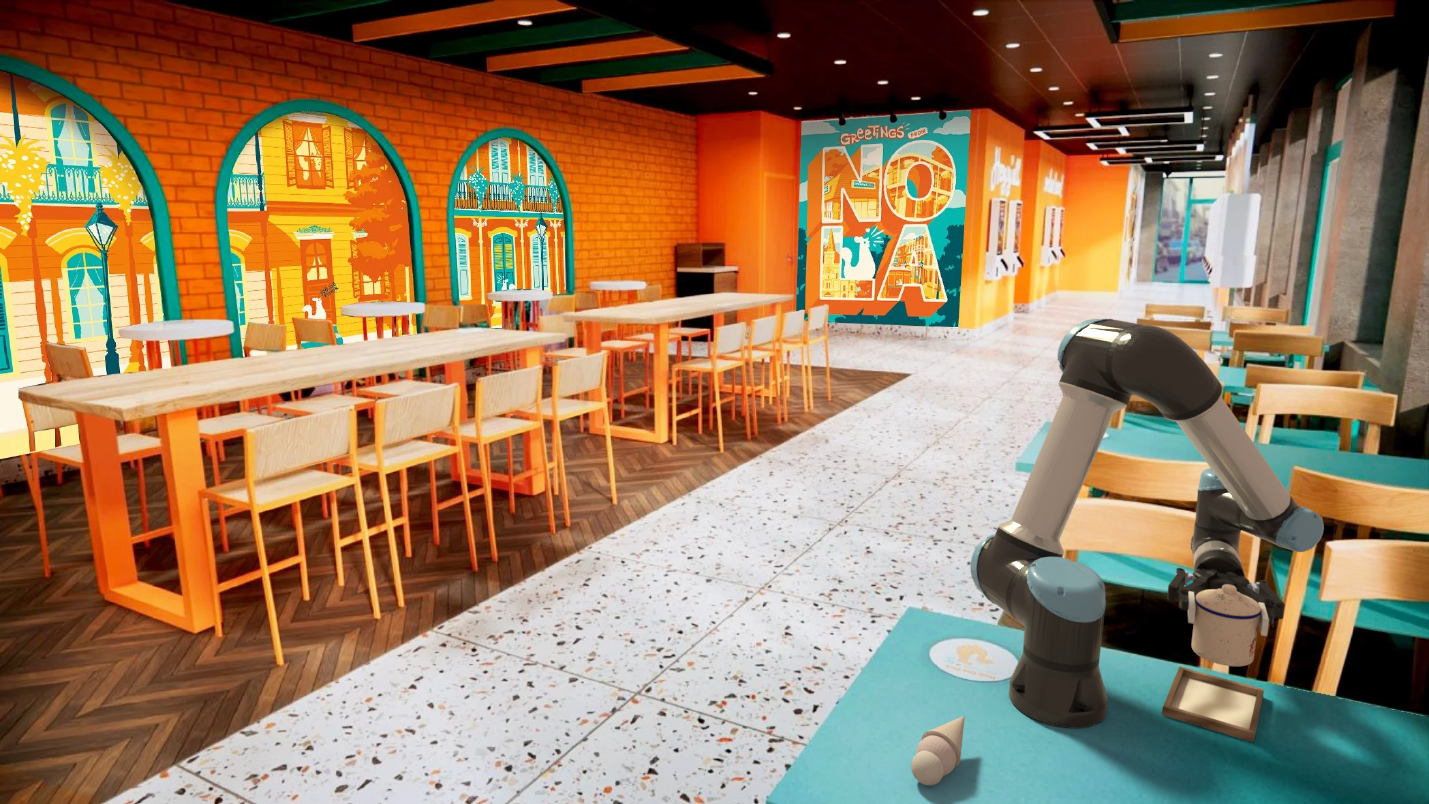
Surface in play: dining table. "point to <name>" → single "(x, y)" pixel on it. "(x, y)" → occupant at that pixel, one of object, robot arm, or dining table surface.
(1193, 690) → the walnut tray
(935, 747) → the ice cream cone
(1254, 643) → the teacup with lid
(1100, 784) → the dining table surface
